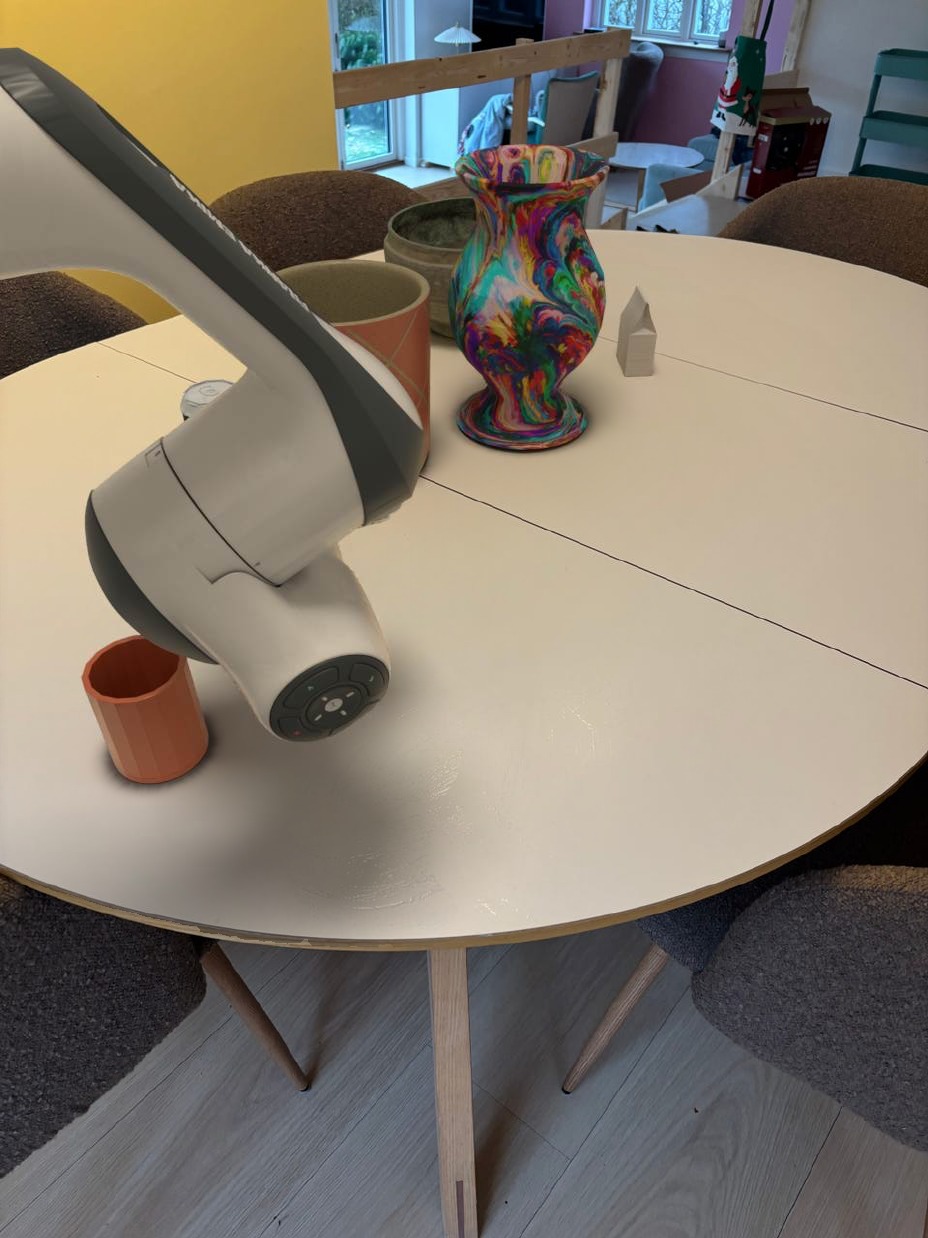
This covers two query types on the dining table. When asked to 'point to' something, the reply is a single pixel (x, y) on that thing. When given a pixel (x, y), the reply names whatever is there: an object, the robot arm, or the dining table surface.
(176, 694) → the terracotta cup
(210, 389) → the beer can
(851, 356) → the dining table surface
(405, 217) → the bowl
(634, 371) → the gable top carton
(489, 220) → the vase
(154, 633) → the robot arm
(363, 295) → the planter
